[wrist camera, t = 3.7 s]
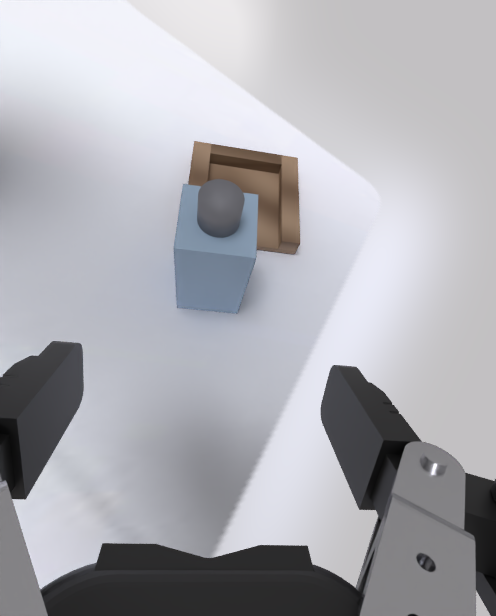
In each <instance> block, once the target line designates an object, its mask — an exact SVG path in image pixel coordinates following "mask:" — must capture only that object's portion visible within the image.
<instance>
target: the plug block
mask: <svg viewBox="0 0 496 616" xmlns="http://www.w3.org/2000/svg"><path fill="white" fill-rule="evenodd" d="M257 220H258V195H257V194H250V193H243V192H242V190H241V189H240V188H239V187H238V186H237V185H236V184H234V183H232V182H230V181H227V180H223V179H215V180H211V181H208V182H206V183H205V184H203V185H202V186H195V185H188V184H183V189H182V195H181V202H180V209H179V216H178V222H177V229H176V236H175V243H174V263H175V280H176V298H177V308H186V309H196V310H206V311H216V312H226V313H236V314H237V312H238V310H239V307H240V304H241V301H242V298H243V295H244V292H245V289H246V286H247V284H248V281H249V278H250V275H251V272H252V269H253V266H254V263H255V260H256V251H257Z"/></svg>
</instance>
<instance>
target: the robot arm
mask: <svg viewBox="0 0 496 616" xmlns="http://www.w3.org/2000/svg"><path fill="white" fill-rule="evenodd" d="M83 388H84V384H83V350H82V345H81V344H80V343H72V342H60V341H53V342H51V343H50V344H49V345H48V346H47V347H46V348H45V349H44V351H43V352H42V353H41V354H40V355H39V356H29V357H27V358H25V359H23V360H21V361H19V362H17V363H15V364H14V365H13V366H12V367H11V368H10V369H9V370H7V371H6V372H5V373H4V374H3V377H0V616H476V590H477V592H478V594H479V596H480V598H481V599H482V601H483V603H484V605H485V606H486V608H487V610H488V611H489V613H490V615H491V616H496V479H495V481H492V480H488V479H485V478H481V477H478V476H474V475H471V474H468V473H465V471H464V469H463V467H462V466H461V464H460V463H459V462H458V461H457V460H456V459H455V458H454V457H453V456H452V455H450V454H449V453H448V452H446V451H444V450H443V449H441V448H439V447H437V446H435V445H432V444H429V443H425V442H422V441H421V440H420V439H419V437H418V436H417V435H416V434H415V432H414V431H413V430H412V428H411V427H410V426H409V424H408V423H407V422H406V421H405V419H404V418H403V417H402V415H401V414H399V411H398V410H397V409H396V408H395V406H394V405H392V402H391V401H390V400H389V398H388V397H387V396H386V394H385V393H384V392H383V391H381V390H380V389H379V388H377V387H376V386H375V385H373V384H372V383H368V382H367V380H366V379H365V378H364V376H363V375H362V373H361V372H360V371H359V369H358V368H357V367H351V366H340V365H334V366H332V368H331V370H330V373H329V377H328V380H327V384H326V388H325V392H324V396H323V400H322V404H321V420H322V423H323V426H324V428H325V430H326V433H327V435H328V437H329V440H330V442H331V445H332V447H333V449H334V452H335V454H336V456H337V459H338V461H339V463H340V466H341V468H342V470H343V473H344V475H345V477H346V480H347V482H348V484H349V487H350V489H351V491H352V494H353V496H354V498H355V501H356V503H357V505H358V508H359V509H360V510H376V511H377V514H378V519H377V522H376V524H375V527H374V531H373V534H372V537H371V540H370V543H369V547H368V550H367V553H366V556H365V560H364V563H363V566H362V570H361V573H360V576H359V579H358V582H357V585H356V588H355V587H354V586H352V585H351V584H350V583H348V582H347V581H345V580H343V579H342V578H341V577H339V576H337V575H336V574H334V573H332V572H330V571H328V570H326V569H323V568H321V567H318V566H316V565H312V562H311V558H310V554H309V550H308V546H283V545H281V546H280V545H259V546H256V547H252V548H248V549H244V550H240V551H237V552H233V553H229V554H226V555H222V556H218V557H214V558H204V557H200V556H196V555H193V554H189V553H186V552H182V551H179V550H175V549H172V548H168V547H165V546H161V545H158V544H109V543H103V544H102V547H101V550H100V554H99V557H98V560H97V563H94V564H90V565H87V566H84V567H82V568H79V569H76V570H74V571H72V572H69V573H67V574H65V575H63V576H61V577H59V578H58V579H56V580H54V581H53V582H51V583H50V584H48V585H46V586H45V587H43V588H42V589H41V590H40V588H39V585H38V582H37V579H36V576H35V572H34V569H33V566H32V563H31V559H30V556H29V553H28V550H27V546H26V543H25V540H24V537H23V533H22V530H21V527H20V524H19V520H18V517H17V514H16V511H15V508H14V504H13V501H12V499H26V498H27V496H28V494H29V493H30V491H31V489H32V488H33V486H34V484H35V482H36V481H37V479H38V477H39V475H40V474H41V472H42V470H43V469H44V467H45V465H46V463H47V462H48V460H49V458H50V456H51V455H52V453H53V451H54V450H55V448H56V446H57V444H58V443H59V441H60V439H61V437H62V436H63V434H64V432H65V431H66V429H67V427H68V425H69V424H70V422H71V420H72V418H73V417H74V415H75V413H76V412H77V410H78V408H79V406H80V403H81V400H82V396H83Z"/></svg>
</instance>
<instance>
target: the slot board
mask: <svg viewBox="0 0 496 616" xmlns="http://www.w3.org/2000/svg"><path fill="white" fill-rule="evenodd" d="M215 179H223V180H227V181H230V182H232V183H234V184H236V185H237V186H238V187H239V188H240V189H241V190H242V192H243V193H250V194H257V195H258V220H257V250H264V251H272V252H280V253H288V254H295V252H296V250H297V248H298V246H299V245H300V226H299V191H298V158H295V157H289V156H283V155H277V154H270V153H264V152H258V151H252V150H246V149H240V148H234V147H227V146H221V145H215V144H209V143H203V142H197V141H194V147H193V154H192V162H191V169H190V176H189V183H188V185H195V186H202V185H203V184H205V183H206V182H208V181H211V180H215Z"/></svg>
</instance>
